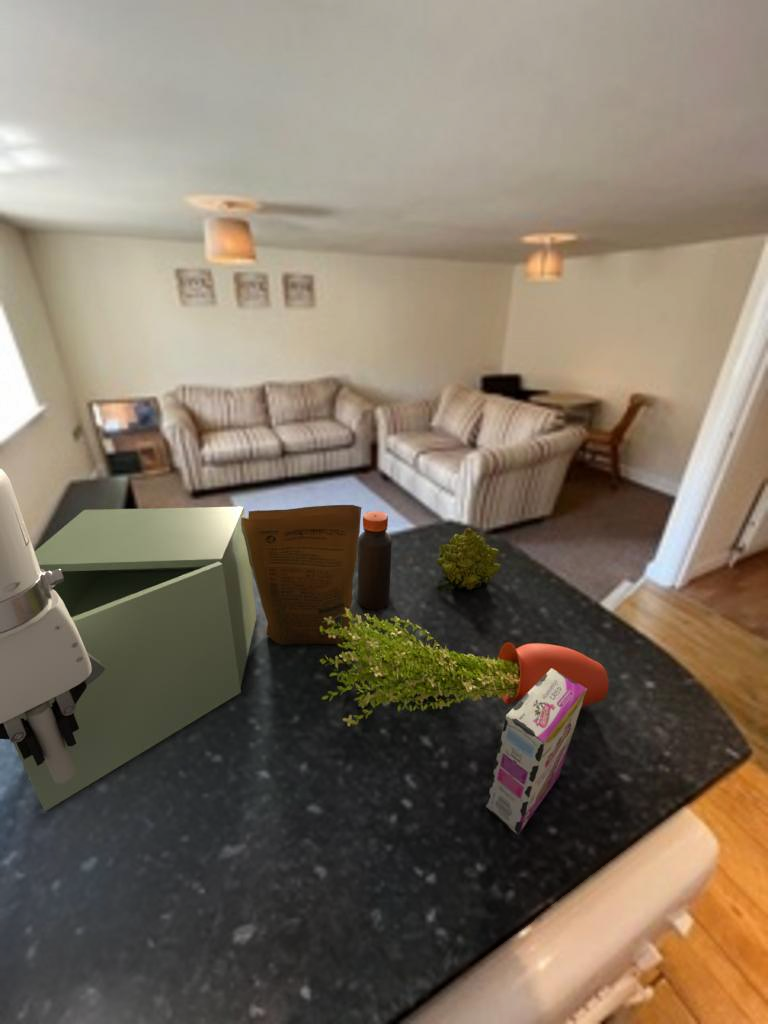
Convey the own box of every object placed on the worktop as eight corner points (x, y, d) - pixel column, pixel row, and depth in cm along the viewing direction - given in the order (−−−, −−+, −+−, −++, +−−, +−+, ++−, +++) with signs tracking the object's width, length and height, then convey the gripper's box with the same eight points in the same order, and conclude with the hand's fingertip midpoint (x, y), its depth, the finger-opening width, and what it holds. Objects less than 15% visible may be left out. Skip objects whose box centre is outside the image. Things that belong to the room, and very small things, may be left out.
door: (265, 718, 67) (249, 584, 57) (60, 857, 50) (-15, 700, 40) (237, 689, 72) (218, 561, 62) (42, 806, 55) (-28, 654, 45)
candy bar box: (519, 839, 53) (544, 744, 46) (484, 808, 56) (502, 715, 50) (562, 777, 60) (589, 687, 54) (529, 752, 64) (550, 665, 57)
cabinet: (240, 687, 73) (221, 558, 63) (66, 699, 70) (17, 565, 60) (256, 618, 89) (243, 506, 79) (116, 624, 86) (84, 509, 76)
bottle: (366, 614, 91) (368, 526, 83) (352, 596, 96) (352, 512, 88) (395, 604, 94) (399, 519, 86) (379, 588, 100) (381, 506, 91)
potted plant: (552, 672, 86) (316, 649, 81) (576, 611, 80) (325, 583, 75) (601, 764, 68) (304, 742, 63) (637, 694, 62) (314, 664, 58)
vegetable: (433, 590, 93) (449, 520, 94) (424, 587, 108) (438, 527, 110) (502, 607, 92) (517, 537, 94) (484, 601, 108) (497, 541, 110)
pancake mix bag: (360, 650, 82) (361, 511, 70) (254, 652, 80) (237, 511, 69) (360, 626, 88) (361, 494, 76) (262, 627, 87) (247, 494, 75)
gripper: (82, 554, 47) (120, 684, 55) (-142, 626, 36) (-55, 776, 44) (110, 583, 42) (146, 720, 50) (-136, 674, 31) (-41, 832, 39)
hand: (52, 745), depth 47 cm, fingers closed on door, 2 cm apart
